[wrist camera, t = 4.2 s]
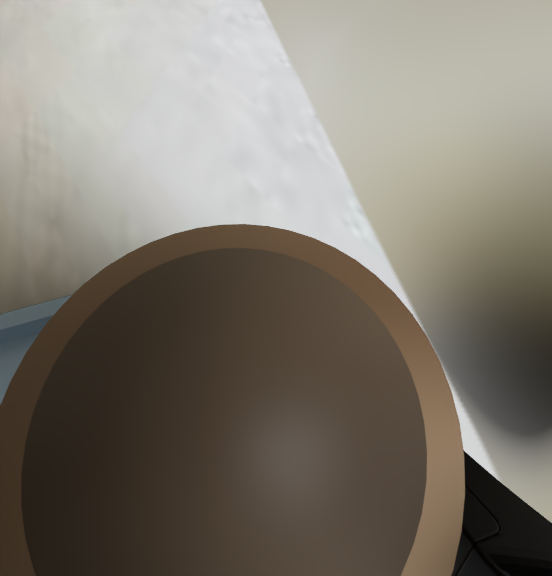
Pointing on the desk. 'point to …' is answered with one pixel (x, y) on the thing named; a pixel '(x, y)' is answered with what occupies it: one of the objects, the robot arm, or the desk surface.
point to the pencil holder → (231, 421)
